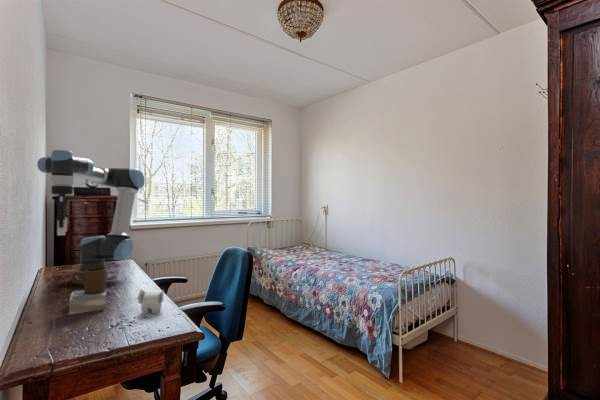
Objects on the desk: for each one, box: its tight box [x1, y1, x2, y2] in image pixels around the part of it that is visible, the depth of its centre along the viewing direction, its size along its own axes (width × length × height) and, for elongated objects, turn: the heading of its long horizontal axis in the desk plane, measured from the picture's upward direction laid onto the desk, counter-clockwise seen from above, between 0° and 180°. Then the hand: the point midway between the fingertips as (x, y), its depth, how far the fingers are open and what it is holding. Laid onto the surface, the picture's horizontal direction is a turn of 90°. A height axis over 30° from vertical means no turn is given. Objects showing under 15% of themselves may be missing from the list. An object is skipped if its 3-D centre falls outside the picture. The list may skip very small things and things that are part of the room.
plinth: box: [68, 289, 107, 315], centre depth 126 cm, size 12×12×6 cm
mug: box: [71, 268, 107, 294], centre depth 126 cm, size 12×8×9 cm, turn 119°
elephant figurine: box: [136, 289, 165, 315], centre depth 124 cm, size 10×12×9 cm
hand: (62, 233), depth 135 cm, fingers open, 13 cm apart
